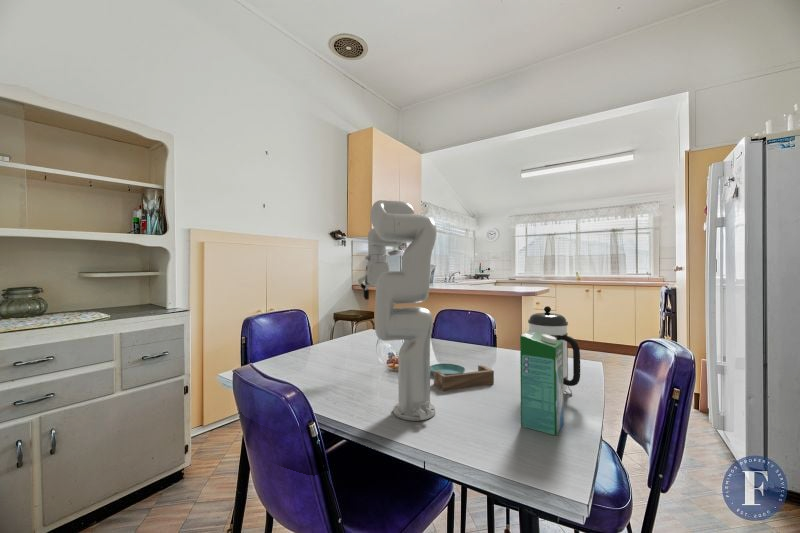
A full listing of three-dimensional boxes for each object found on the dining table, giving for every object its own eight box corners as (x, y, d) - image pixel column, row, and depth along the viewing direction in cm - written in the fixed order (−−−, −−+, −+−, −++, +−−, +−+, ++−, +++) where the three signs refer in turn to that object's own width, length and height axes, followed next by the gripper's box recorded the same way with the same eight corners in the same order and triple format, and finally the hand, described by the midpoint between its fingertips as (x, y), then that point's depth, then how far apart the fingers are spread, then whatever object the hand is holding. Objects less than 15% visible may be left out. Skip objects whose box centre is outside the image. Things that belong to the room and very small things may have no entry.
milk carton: (556, 436, 85) (555, 338, 85) (520, 426, 91) (520, 334, 91) (563, 423, 92) (563, 333, 93) (530, 414, 98) (529, 329, 98)
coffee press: (522, 396, 112) (521, 307, 112) (528, 382, 126) (527, 303, 126) (580, 406, 104) (579, 310, 104) (579, 389, 118) (579, 305, 118)
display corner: (493, 384, 124) (493, 370, 124) (444, 391, 117) (443, 377, 117) (481, 377, 132) (481, 364, 132) (433, 384, 124) (433, 370, 124)
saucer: (472, 376, 134) (472, 370, 134) (443, 383, 126) (443, 376, 126) (450, 367, 146) (450, 361, 146) (422, 372, 139) (422, 366, 139)
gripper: (361, 258, 136) (361, 300, 135) (398, 259, 143) (398, 298, 143) (355, 259, 142) (355, 299, 142) (391, 259, 150) (391, 297, 150)
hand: (377, 298), depth 143 cm, fingers open, 9 cm apart
